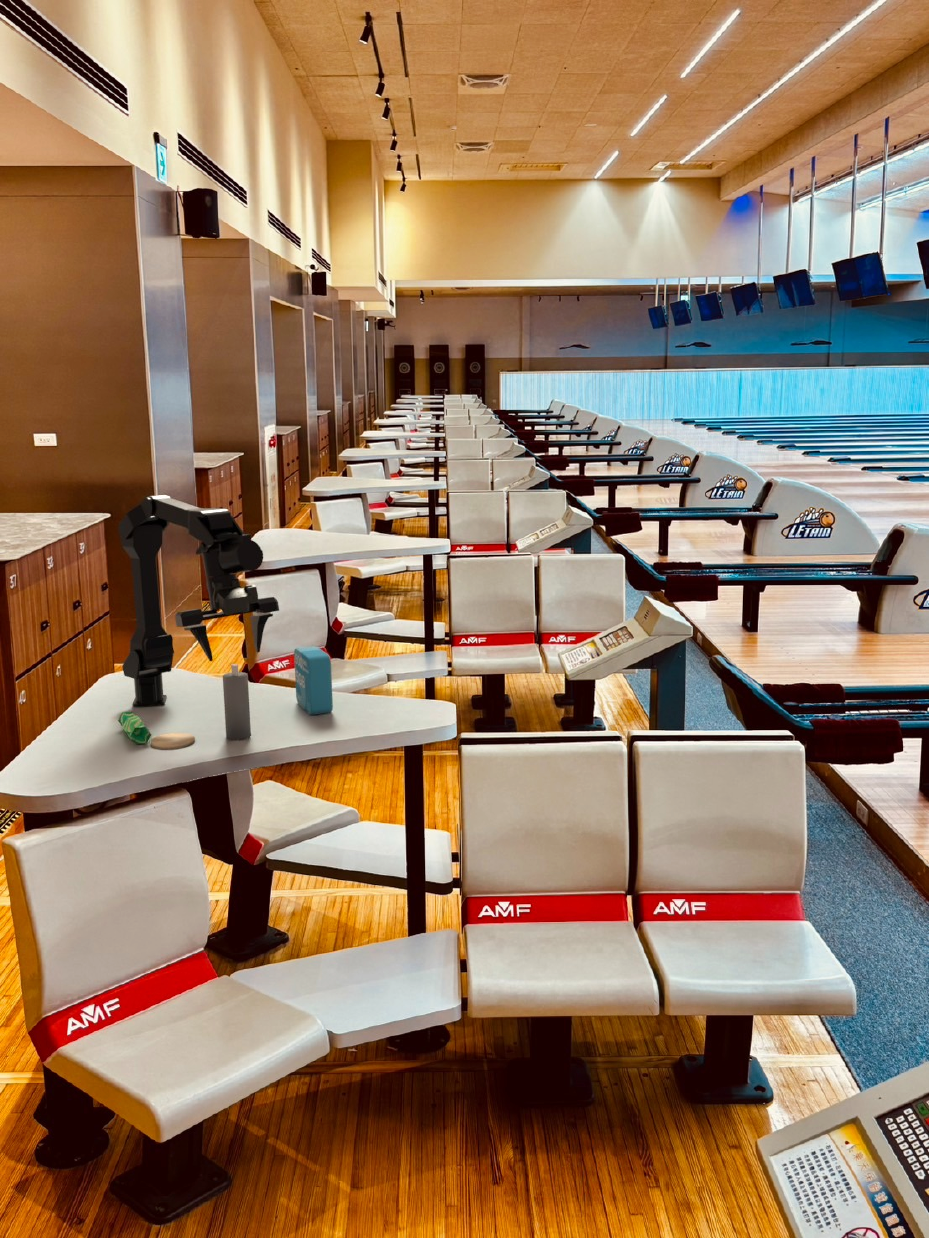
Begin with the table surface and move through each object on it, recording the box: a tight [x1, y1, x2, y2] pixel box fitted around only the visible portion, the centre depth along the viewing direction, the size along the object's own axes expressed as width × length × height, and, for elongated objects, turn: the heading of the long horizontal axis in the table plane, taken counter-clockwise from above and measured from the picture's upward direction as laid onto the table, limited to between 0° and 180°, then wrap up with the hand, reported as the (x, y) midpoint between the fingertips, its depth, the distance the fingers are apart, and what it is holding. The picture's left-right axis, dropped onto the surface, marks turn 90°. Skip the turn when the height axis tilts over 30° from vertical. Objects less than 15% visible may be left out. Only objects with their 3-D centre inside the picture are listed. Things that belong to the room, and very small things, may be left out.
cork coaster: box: [150, 732, 196, 750], centre depth 211 cm, size 8×8×1 cm
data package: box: [293, 645, 334, 716], centre depth 232 cm, size 12×4×12 cm, turn 23°
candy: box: [117, 711, 152, 745], centre depth 215 cm, size 12×3×4 cm
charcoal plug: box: [222, 663, 252, 741], centre depth 213 cm, size 5×5×14 cm
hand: (234, 656), depth 216 cm, fingers open, 9 cm apart
